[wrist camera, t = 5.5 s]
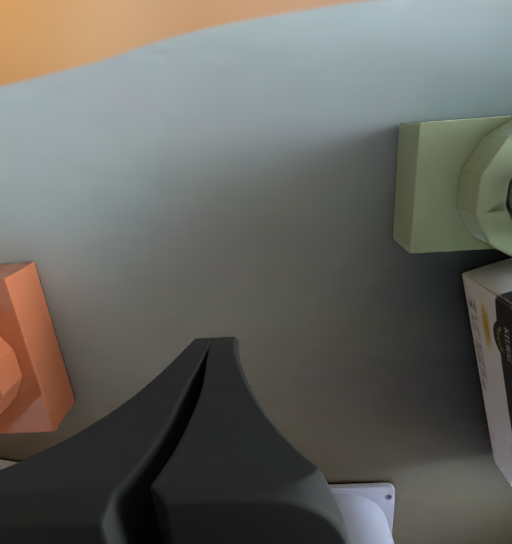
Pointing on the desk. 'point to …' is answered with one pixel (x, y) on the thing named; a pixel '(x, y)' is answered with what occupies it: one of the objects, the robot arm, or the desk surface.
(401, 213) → the sage dispenser
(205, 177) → the desk surface
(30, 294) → the button housing
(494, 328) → the tea box
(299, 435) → the desk surface
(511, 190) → the light grey round peg
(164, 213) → the desk surface
